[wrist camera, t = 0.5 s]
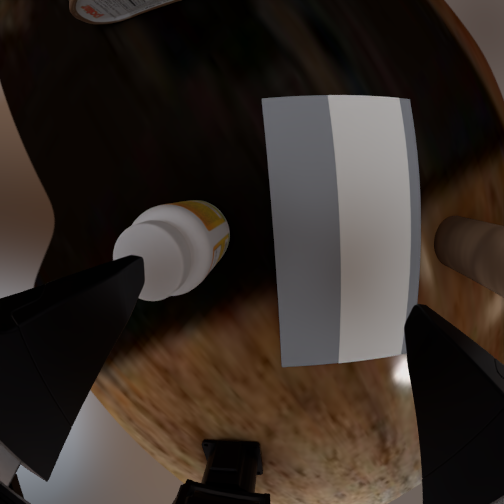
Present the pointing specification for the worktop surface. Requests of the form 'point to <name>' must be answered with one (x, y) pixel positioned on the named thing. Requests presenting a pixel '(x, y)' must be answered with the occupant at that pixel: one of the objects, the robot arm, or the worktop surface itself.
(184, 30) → the worktop surface
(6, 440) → the robot arm
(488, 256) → the beige tapered cylinder
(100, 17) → the tin
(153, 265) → the supplement bottle
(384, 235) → the slate-grey panel
